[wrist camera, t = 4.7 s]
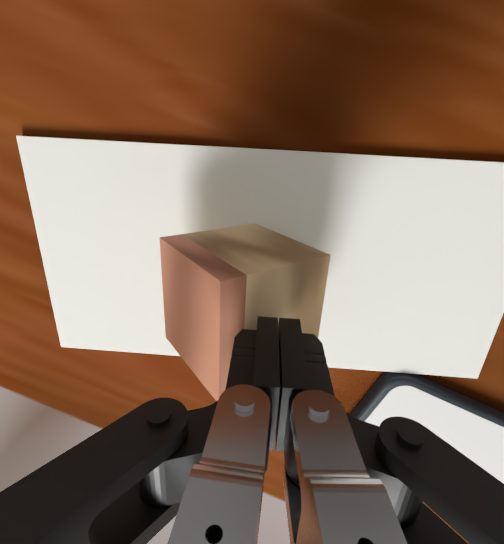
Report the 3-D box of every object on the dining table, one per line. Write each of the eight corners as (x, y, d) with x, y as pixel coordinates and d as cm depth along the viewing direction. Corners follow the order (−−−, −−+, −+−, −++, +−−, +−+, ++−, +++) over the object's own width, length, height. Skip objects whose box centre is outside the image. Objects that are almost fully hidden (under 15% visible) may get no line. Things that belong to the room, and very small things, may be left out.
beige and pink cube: (330, 254, 13) (220, 281, 10) (315, 358, 15) (218, 404, 12) (255, 223, 17) (159, 237, 14) (250, 310, 19) (165, 337, 16)
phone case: (317, 445, 24) (502, 521, 26) (319, 465, 23) (516, 545, 24) (388, 354, 21) (595, 448, 22) (396, 371, 19) (618, 470, 21)
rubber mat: (555, 164, 15) (561, 166, 15) (473, 373, 20) (477, 378, 20) (22, 135, 16) (16, 135, 16) (64, 343, 21) (61, 346, 21)
